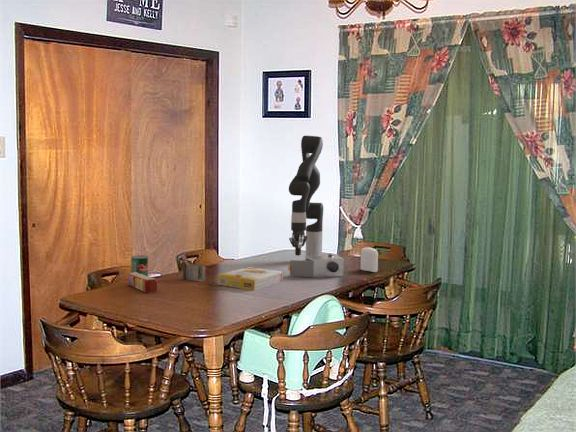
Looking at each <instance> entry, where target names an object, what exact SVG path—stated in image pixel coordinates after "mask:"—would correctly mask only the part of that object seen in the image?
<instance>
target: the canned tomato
mask: <svg viewBox="0 0 576 432" xmlns="http://www.w3.org/2000/svg"><path fill="white" fill-rule="evenodd" d="M130 258H131V260H130V263H131V264H130V265H131V266H130V267H131V268H130V269H131V270H130V271H131V272H130V273H133V272H137V273H139V274H143V275H146V276H148V277H149V256H148V255H140V254H139V255H138V254H137V255H132V256H131V257H130Z"/></svg>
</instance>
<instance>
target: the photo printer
mask: <svg viewBox="0 0 576 432" xmlns="http://www.w3.org/2000/svg"><path fill="white" fill-rule="evenodd" d="M360 270H362V271H365V272H372V273H377V272H378V271H379V251H378V249H375V248H373V247H370V246H369V247H363V248H361V251H360Z"/></svg>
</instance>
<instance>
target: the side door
mask: <svg viewBox="0 0 576 432" xmlns="http://www.w3.org/2000/svg"><path fill="white" fill-rule="evenodd" d="M287 271H289V276H291V277H303V278H304V277H306V278H314V277H313V261H305V260H298V259H297V260H293V259H290V261H289V265H287Z"/></svg>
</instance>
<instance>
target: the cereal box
mask: <svg viewBox="0 0 576 432" xmlns="http://www.w3.org/2000/svg"><path fill="white" fill-rule="evenodd" d="M283 277H284V272H283V271H280V270H276V269H275V270H273V269H266V268H257V267H250V266H248V267H244V268H239V269H236V270H232V271H227V272H223V273H219V274H217V280H216V281H217V282H216V283H217V285H218V286H225V287H231V288H236V289H240V290H247V291H248V290H249V291H256V290H259V289H262V288H265V287H267V286H271V285H273V284H276V283H279V282H283V279H284V278H283Z"/></svg>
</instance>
